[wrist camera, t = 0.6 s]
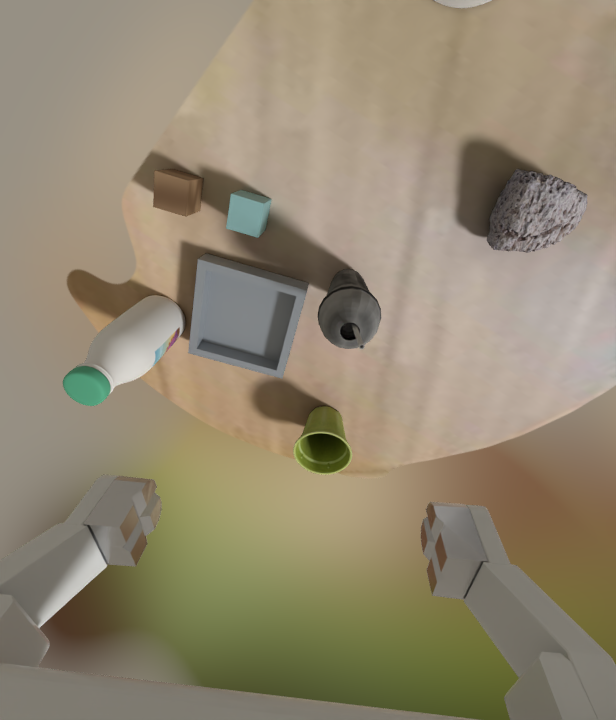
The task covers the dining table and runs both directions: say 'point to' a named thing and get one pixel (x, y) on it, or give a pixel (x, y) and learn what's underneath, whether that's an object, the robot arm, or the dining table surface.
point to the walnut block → (177, 191)
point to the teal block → (248, 213)
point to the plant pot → (323, 443)
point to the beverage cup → (349, 311)
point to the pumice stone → (534, 212)
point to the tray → (244, 315)
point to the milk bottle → (126, 349)
